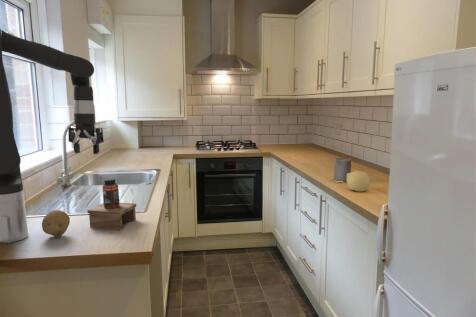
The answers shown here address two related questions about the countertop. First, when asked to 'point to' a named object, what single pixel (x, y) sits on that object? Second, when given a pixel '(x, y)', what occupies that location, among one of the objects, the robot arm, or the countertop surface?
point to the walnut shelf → (111, 216)
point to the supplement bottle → (110, 193)
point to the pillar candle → (342, 168)
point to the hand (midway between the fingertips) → (86, 153)
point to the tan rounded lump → (358, 181)
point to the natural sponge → (55, 223)
